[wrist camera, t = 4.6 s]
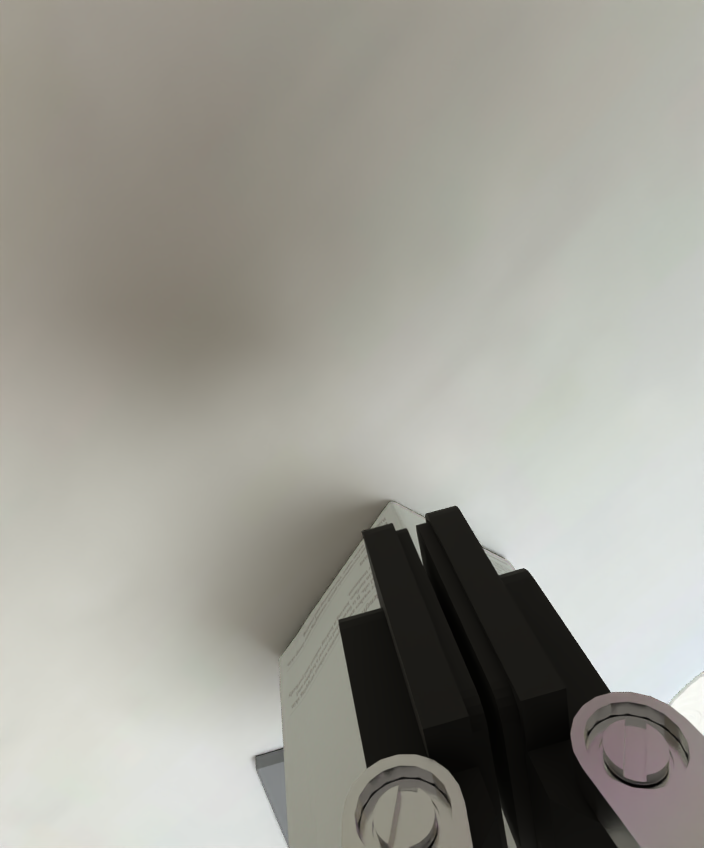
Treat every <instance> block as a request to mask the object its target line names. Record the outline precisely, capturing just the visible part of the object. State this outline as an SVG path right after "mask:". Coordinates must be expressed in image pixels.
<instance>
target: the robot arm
mask: <svg viewBox="0 0 704 848" xmlns="http://www.w3.org/2000/svg"><path fill="white" fill-rule="evenodd" d="M425 520H426V523H422V524H419V525H416V532H417V537H418V542H419V547H420V552H421V557H422V562H423V564H422V562H421V559H420V557H419V555H418V552H417V550H416V548H415V545H414V543H413V541H412V538H411V536H410V534H409V531H408V529H407V528H404V529H400V530H397V531H396V530H395V527H394V525H393V523H390V524H386V525H382V526H379V527H375V528H371V529H368V530H364V531H362V534H363V539H364V543H365V547H366V551H367V555H368V559H369V563H370V567H371V571H372V575H373V579H374V583H375V587H376V591H377V595H378V599H379V604H380V608H378V609H375V610H371V611H368V612H364V613H360V614H357V615H353V616H350V617H346V618H342V619H339V620H338V623H339V629H340V634H341V639H342V644H343V649H344V655H345V660H346V665H347V670H348V675H349V680H350V685H351V691H352V696H353V701H354V706H355V711H356V716H357V721H358V727H359V732H360V737H361V742H362V747H363V752H364V758H365V763H366V768H367V769H365V771H364V772H363V773H362V774H361V775H360V776H359V777H358V778H357V780H356V781H355V782H354V783H353V784H352V787H351V789H350V791H349V793H348V795H347V797H346V799H345V802H344V808H343V815H342V842H341V848H508V845H507V839H506V833H505V827H504V821H503V815H502V811H503V813H504V816H505V819H506V821H507V824H508V826H509V829H510V831H511V834H512V837H513V839H514V842H515V844H516V847H517V848H704V736H703V735H702V734H701V733H700V732H699V731H698V730H697V729H696V728H695V727H694V726H693V725H692V724H691V723H690V722H689V721H688V720H687V719H686V718H685V717H684V716H683V715H681V714H680V713H679V712H678V711H676V710H675V709H674V708H672V707H671V706H670V705H668V704H666V703H664V702H662V701H659V700H657V699H655V698H653V697H651V696H647V695H642V694H638V693H633V692H610V690H609V689H608V687H607V686H606V684H605V683H604V681H603V680H602V679H601V677H600V676H599V674H598V673H597V671H596V670H595V668H594V667H593V665H592V664H591V662H590V661H589V659H588V658H587V656H586V655H585V653H584V652H583V650H582V649H581V647H580V646H579V645H578V643H577V642H576V640H575V639H574V637H573V636H572V634H571V633H570V631H569V630H568V628H567V627H566V625H565V624H564V622H563V621H562V619H561V618H560V616H559V615H558V613H557V612H556V610H555V609H554V608H553V606H552V605H551V603H550V602H549V600H548V599H547V597H546V596H545V594H544V593H543V591H542V590H541V588H540V587H539V585H538V584H537V582H536V581H535V579H534V578H533V576H532V575H531V574H530V573H529V572H528V570H526V569H524V568H523V569H519V570H515V571H512V572H508V573H505V574H501V575H498V573H497V571H496V570H495V568H494V566H493V565H492V563H491V561H490V560H489V558H488V556H487V555H486V553H485V551H484V550H483V548H482V546H481V545H480V543H479V541H478V540H477V538H476V536H475V535H474V533H473V531H472V530H471V528H470V526H469V525H468V523H467V521H466V520H465V518H464V516H463V515H462V513H461V511H460V509H459V508H458V507H457V506H453V507H449V508H445V509H442V510H438V511H434V512H430V513H427V514H426V515H425ZM501 808H502V809H501Z"/></svg>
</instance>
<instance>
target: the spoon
mask: <svg viewBox="0 0 704 848" xmlns="http://www.w3.org/2000/svg"><path fill="white" fill-rule="evenodd" d="M668 705H670V706H671V707H672V708H674V709H675V710H676V711H678V712H679V713H680V714H681V715H683V716H684V717H685V718H686V719H687V720H688V721H689V722H690V723H691V724H692V725H693V726H694V727H695V728H696V729H697V730H698V731H699V732H700V733H701V734H702V735H703V736H704V671H703V672H702V673H700V674H699V675H698V676H696V677H695V678H694V679H693V680H692V681H690V682H689V683H688V684H686V686H685V687H683V688H682V689H681V691H679V692H678V694H676V696H674V697H673V699H671V701H670V702H669V704H668Z"/></svg>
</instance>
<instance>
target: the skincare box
mask: <svg viewBox="0 0 704 848" xmlns="http://www.w3.org/2000/svg"><path fill="white" fill-rule="evenodd" d="M390 523H393V525H394V527H395V530H396V531H397V530H400V529H404V528H407V529H408V531H409V534H410V536H411V538H412V541H413V543H414V545H415V548H416V550H417V552H418V555H419V557H420V559H421V562H422V557H421V552H420V547H419V542H418V537H417V532H416V525H419V524H422V523H426V520H425V517H423V516H421V515H419V514H417V513H415V512H413V511H411V510H409V509H407V508H406V507H404V506H402V505H400V504H398V503H396V502H393V501H391V502H389V503H388V504H387V506H386V507H385V508H384V510H383V511H382V513H381V514H380V515H379V517H378V518H377V520H376V521H375V523H374V524H373V525H372V527H371V528H375V527H379V526H382V525H386V524H390ZM371 528H370V529H371ZM483 550H484V551H485V553H486V555H487V556H488V558H489V560H490V561H491V563H492V565H493V566H494V568H495V570H496V571H497V573H498V575H501V574H505V573H508V572H512V571H515V569H514V567H513V566H512V564H511V563H510V562H509V561H507V560H505V559H503V558H501V557H499V556H497V555H495V554H494V553H492V552H490V551H488V550H486V549H484V548H483ZM422 564H423V562H422ZM378 608H380V604H379V599H378V595H377V591H376V587H375V583H374V579H373V575H372V571H371V567H370V563H369V559H368V555H367V551H366V547H365V543H364V539H362V541H361V542H360V544H359V545H358V547H357V548H356V549H355V551H354V552H353V554H352V555H351V556H350V558H349V559H348V561H347V562H346V564H345V565H344V566H343V568H342V569H341V571H340V572H339V574H338V575H337V576H336V578H335V579H334V581H333V582H332V584H331V585H330V586H329V588H328V589H327V591H326V592H325V594H324V595H323V596H322V598H321V599H320V601H319V602H318V604H317V605H316V606H315V608H314V609H313V611H312V612H311V614H310V615H309V617H308V618H307V620H306V621H305V623H304V624H303V626H302V628H301V629H300V631H299V633H298V634H297V635H296V637H295V638H294V639H293V641H292V642H291V644H290V645H289V646H288V648H287V649H286V650H285V651H284V653H283V654H282V655H281V657H280V658H279V674H280V696H281V714H282V731H283V745H284V768H285V786H286V804H287V822H288V841H289V848H341V842H342V815H343V808H344V802H345V799H346V797H347V795H348V793H349V791H350V789H351V787H352V784H353V783H354V782H355V781H356V780H357V778H358V777H359V776H360V775H361V774H362V773H363V772H364V771H365V769H367V768H366V763H365V758H364V752H363V747H362V742H361V737H360V732H359V727H358V721H357V716H356V711H355V706H354V701H353V696H352V691H351V685H350V680H349V675H348V670H347V665H346V660H345V655H344V649H343V644H342V639H341V634H340V629H339V623H338V620H339V619H342V618H346V617H350V616H353V615H357V614H360V613H364V612H368V611H371V610H375V609H378ZM501 809H502V808H501ZM502 815H503V821H504V827H505V833H506V839H507V845H508V848H517V847H516V844H515V842H514V839H513V837H512V834H511V831H510V829H509V826H508V824H507V821H506V819H505V816H504V813H503V811H502Z"/></svg>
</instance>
